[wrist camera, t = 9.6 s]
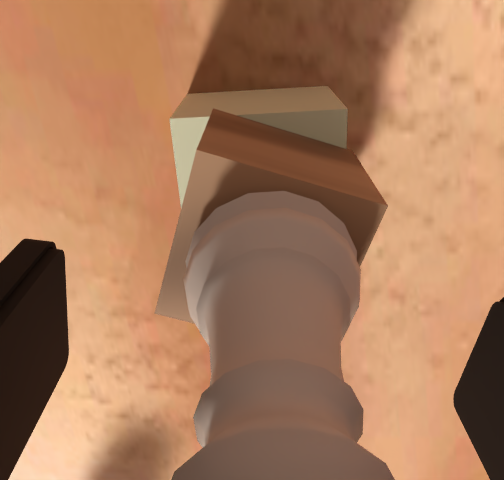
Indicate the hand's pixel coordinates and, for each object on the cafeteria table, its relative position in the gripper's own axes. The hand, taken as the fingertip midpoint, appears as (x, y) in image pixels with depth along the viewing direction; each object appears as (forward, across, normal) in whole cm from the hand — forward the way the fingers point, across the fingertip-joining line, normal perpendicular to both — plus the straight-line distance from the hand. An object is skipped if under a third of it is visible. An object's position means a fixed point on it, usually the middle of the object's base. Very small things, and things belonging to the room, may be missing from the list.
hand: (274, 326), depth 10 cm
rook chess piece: (+3, 0, 0) cm, 3 cm away
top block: (+8, 0, 0) cm, 8 cm away
